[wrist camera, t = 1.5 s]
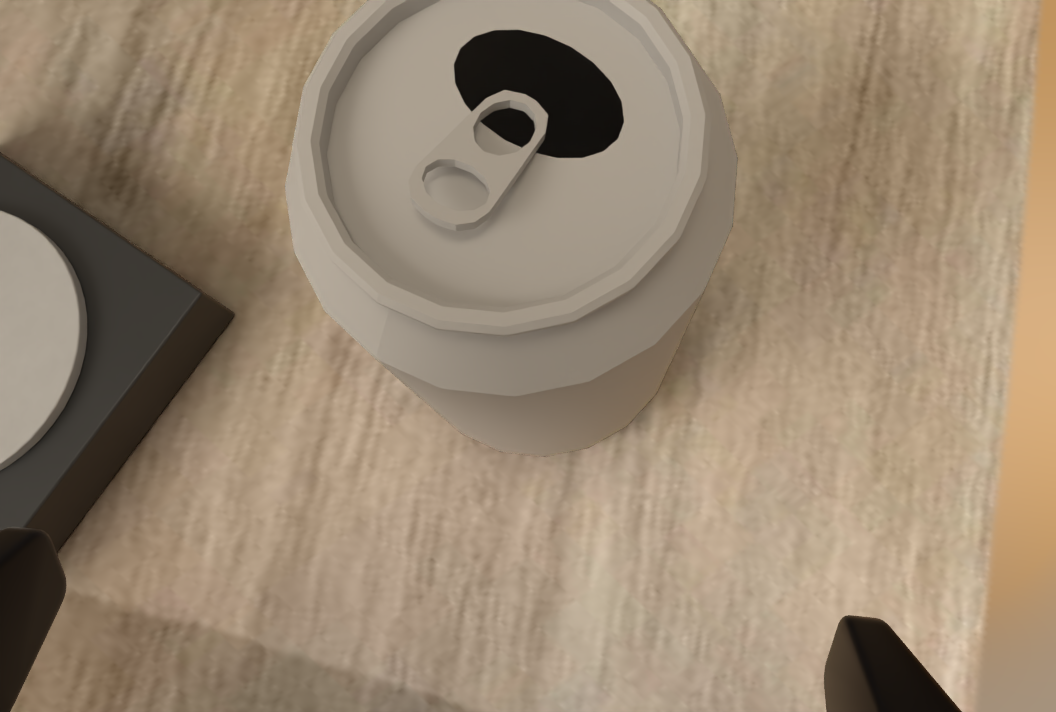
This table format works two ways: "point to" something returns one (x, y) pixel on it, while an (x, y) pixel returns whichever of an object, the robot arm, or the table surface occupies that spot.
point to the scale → (82, 352)
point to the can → (513, 206)
